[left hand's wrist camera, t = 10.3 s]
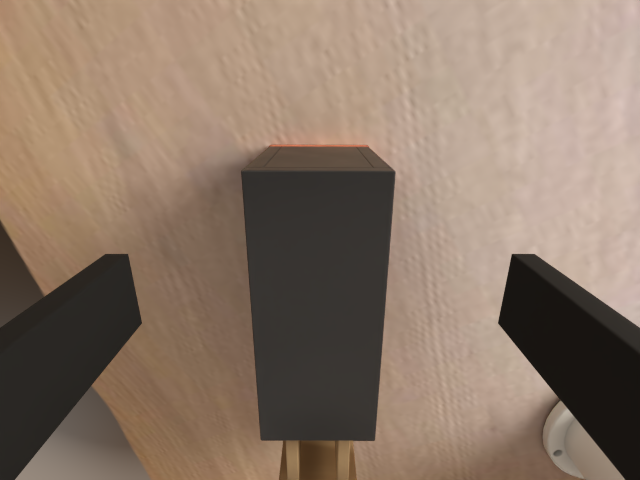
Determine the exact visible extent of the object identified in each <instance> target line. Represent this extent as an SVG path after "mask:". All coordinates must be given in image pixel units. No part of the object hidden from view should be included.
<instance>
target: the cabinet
mask: <svg viewBox="0 0 640 480" xmlns="http://www.w3.org/2000/svg"><path fill="white" fill-rule="evenodd" d="M241 175H242V189H243V202H244V216H245V230H246V244H247V257H248V271H249V285H250V299H251V313H252V326H253V340H254V354H255V368H256V381H257V395H258V409H259V423H260V436H261V440H278V441H375V433H376V420H377V407H378V394H379V381H380V368H381V355H382V341H383V328H384V315H385V302H386V289H387V276H388V263H389V250H390V237H391V224H392V211H393V198H394V185H395V171H394V170H393V169H392V168H391V167H390V166H389V165H388V164H387V163H386V162H384V161H383V160H382V159H381V158H380V157H379V156H378V155H377V154H376V153H374V152H373V151H372V150H371V149H370V148H369V146H368V145H270V146H269V148H268V149H266V150H265V151H264V152H263V153H262V154H261V155H259V156H258V157H257V158H256V159H255V160H254V161H253V162H251V163H250V164H249V165H248V166H247V167H246V168H244V169H243V170H242V171H241Z"/></svg>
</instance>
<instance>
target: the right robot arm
mask: <svg viewBox="0 0 640 480" xmlns="http://www.w3.org/2000/svg"><path fill="white" fill-rule="evenodd" d="M542 438H543V444H544V447H545V449H546V452H547V454H548V455H549V456H550V458H551V459H552V461H553V462H554V464H555V465H556V466H557V467H558V468H560V469H561V470H562V471H564V472H566V473H567V474H569V475H572V476H575V477H578V478H582V479H585V480H625V479H624V478H623V476H622V475H621V474H620V473H619V471H618V470H617V469H616V468H615V466H614V465H613V464H612V463H611V462H610V460H609V459H608V458H607V457H606V455H605V454H604V453H603V452H602V450H601V449H600V448H599V447H598V446H597V444H596V443H595V442H594V441H593V439H592V438H591V437H590V436H589V434H588V433H587V432H586V431H585V429H584V428H583V427H582V426H581V425H580V423H579V422H578V421H577V420H576V418H575V417H574V416H573V415H572V413H571V412H570V411H569V410H568V409H567V407H566V406H565V405H564V404H563V402H562V401H561V400H560V401H559V403H558V404H557V405H556V406H555V407H554V408H553V409H552V411H551V413H550V414H549V416H548V418H547V420H546V422H545V425H544V428H543V436H542Z"/></svg>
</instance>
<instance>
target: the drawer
mask: <svg viewBox="0 0 640 480" xmlns="http://www.w3.org/2000/svg"><path fill="white" fill-rule="evenodd" d="M279 480H357V477H356V467H355V457H354V447H353V441H283V448H282V457H281V466H280V476H279Z"/></svg>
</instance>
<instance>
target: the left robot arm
mask: <svg viewBox="0 0 640 480" xmlns="http://www.w3.org/2000/svg"><path fill="white" fill-rule="evenodd" d="M141 324H142V321H141V316H140V311H139V306H138V301H137V297H136V292H135V287H134V282H133V277H132V272H131V267H130V262H129V257H128V254H105V255H104V256H102V257H101V258H99V259H98V260H96V261H95V262H94V263H92V264H91V265H89V266H88V267H86V268H85V269H84V270H82V271H81V272H79V273H78V274H76V275H75V276H74V277H72V278H71V279H69V280H68V281H66V282H65V283H64V284H62V285H61V286H59V287H58V288H56V289H55V290H54V291H52V292H51V293H49V294H48V295H46V296H45V297H44V298H42V299H41V300H39V301H38V302H37V303H35V304H34V305H32V306H31V307H29V308H28V309H27V310H25V311H24V312H22V313H21V314H19V315H18V316H17V317H15V318H14V319H12V320H11V321H9V322H8V323H7V324H5V325H4V326H2V327H1V328H0V480H15V479H16V477H17V476H18V475H19V474H20V473H21V471H22V470H23V469H24V468H25V466H26V465H27V464H28V463H29V462H30V460H31V459H32V458H33V457H34V455H35V454H36V453H37V452H38V450H39V449H40V448H41V447H42V445H43V444H44V443H45V442H46V441H47V439H48V438H49V437H50V436H51V434H52V433H53V432H54V431H55V429H56V428H57V427H58V426H59V425H60V423H61V422H62V421H63V420H64V418H65V417H66V416H67V415H68V413H69V412H70V411H71V410H72V409H73V407H74V406H75V405H76V404H77V402H78V401H79V400H80V399H81V397H82V396H83V395H84V394H85V392H86V391H87V390H88V389H89V388H90V386H91V385H92V384H93V383H94V381H95V380H96V379H97V378H98V377H99V375H100V374H101V373H102V372H103V370H104V369H105V368H106V367H107V365H108V364H109V363H110V362H111V361H112V359H113V358H114V357H115V356H116V354H117V353H118V352H119V351H120V349H121V348H122V347H123V346H124V345H125V343H126V342H127V341H128V340H129V338H130V337H131V336H132V335H133V333H134V332H135V331H136V330H137V329H138V327H139V326H140V325H141ZM498 324H499V325H500V326H501V327H502V329H503V330H504V331H505V332H506V333H507V335H508V336H509V337H510V338H511V340H512V341H513V342H514V343H515V345H516V346H517V347H518V348H519V349H520V351H521V352H522V353H523V354H524V356H525V357H526V358H527V359H528V361H529V362H530V363H531V364H532V365H533V367H534V368H535V369H536V370H537V372H538V373H539V374H540V375H541V377H542V378H543V379H544V380H545V381H546V383H547V384H548V385H549V386H550V388H551V389H552V390H553V391H554V393H555V394H556V395H557V396H558V397H559V399H560V400H561V401H562V402H563V404H564V405H565V406H566V407H567V409H568V410H569V411H570V412H571V413H572V415H573V416H574V417H575V418H576V420H577V421H578V422H579V423H580V425H581V426H582V427H583V428H584V429H585V431H586V432H587V433H588V434H589V436H590V437H591V438H592V439H593V441H594V442H595V443H596V444H597V446H598V447H599V448H600V449H601V450H602V452H603V453H604V454H605V455H606V457H607V458H608V459H609V460H610V462H611V463H612V464H613V465H614V466H615V468H616V469H617V470H618V471H619V473H620V474H621V475H622V476H623V478H624V479H625V480H640V328H639V327H638V326H636V325H635V324H633V323H632V322H631V321H629V320H628V319H626V318H625V317H623V316H622V315H621V314H619V313H618V312H616V311H615V310H613V309H612V308H611V307H609V306H608V305H606V304H605V303H603V302H602V301H601V300H599V299H598V298H596V297H595V296H594V295H592V294H591V293H589V292H588V291H586V290H585V289H584V288H582V287H581V286H579V285H578V284H576V283H575V282H574V281H572V280H571V279H569V278H568V277H566V276H565V275H564V274H562V273H561V272H559V271H558V270H556V269H555V268H554V267H552V266H551V265H549V264H548V263H546V262H545V261H544V260H542V259H541V258H539V257H538V256H536V255H535V254H512V257H511V262H510V267H509V272H508V277H507V282H506V287H505V292H504V297H503V301H502V306H501V311H500V316H499V321H498Z"/></svg>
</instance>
